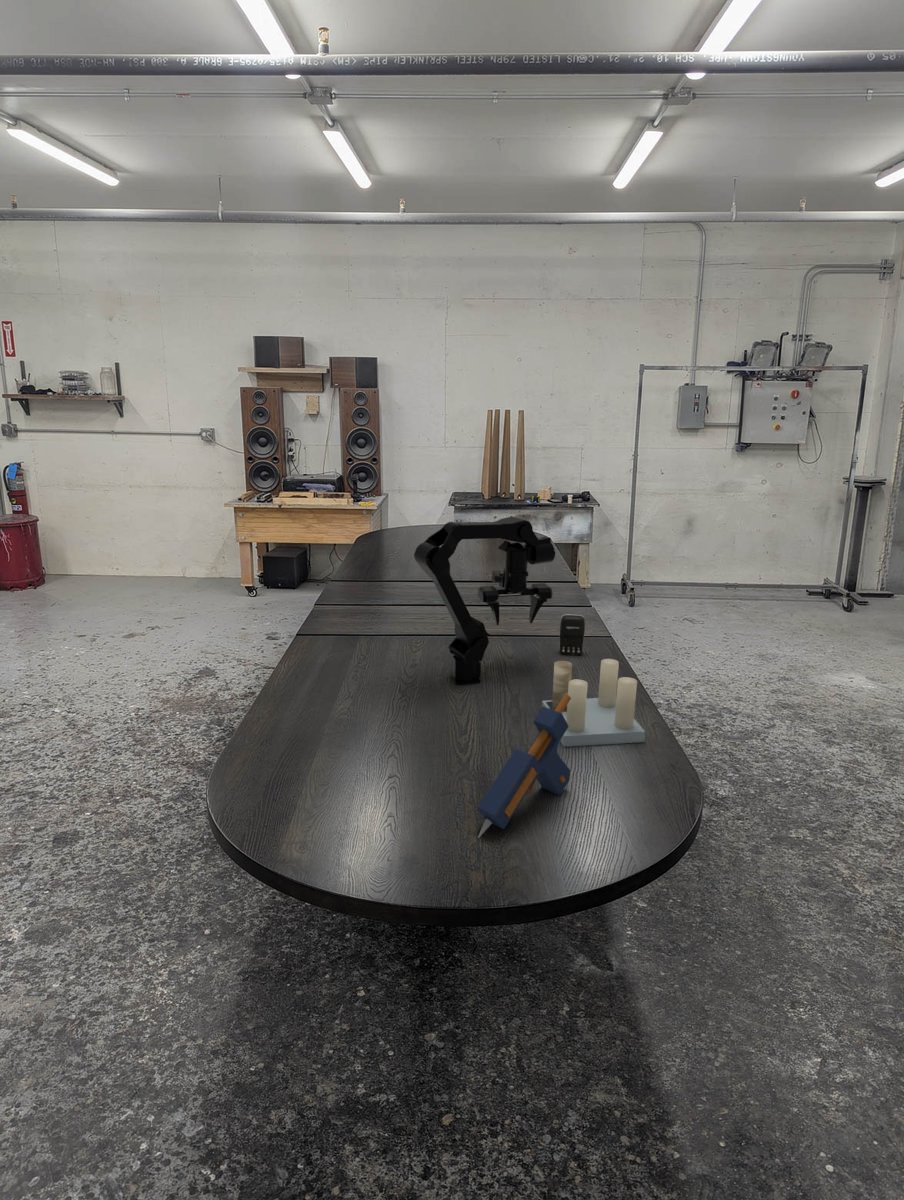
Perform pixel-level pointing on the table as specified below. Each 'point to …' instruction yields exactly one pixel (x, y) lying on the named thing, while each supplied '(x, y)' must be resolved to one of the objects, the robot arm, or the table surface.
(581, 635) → the battery charger
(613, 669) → the stool seat
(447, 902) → the table surface
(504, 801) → the glue gun
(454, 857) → the table surface
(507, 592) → the robot arm
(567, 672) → the loose leg
